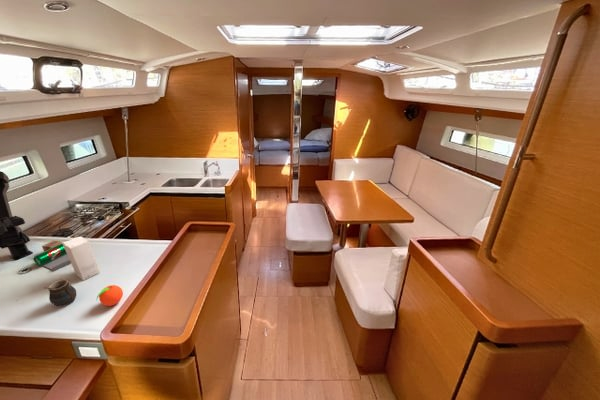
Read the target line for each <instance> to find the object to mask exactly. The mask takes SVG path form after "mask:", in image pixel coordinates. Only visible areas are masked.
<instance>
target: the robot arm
mask: <svg viewBox="0 0 600 400" xmlns="http://www.w3.org/2000/svg"><path fill="white" fill-rule="evenodd" d="M9 183H10V178H9V176H8V175H7V174H6V173H4V172H3V171H0V249H2V250H3V249H8V251H9V253H10V255H8V258H11V260H12V259H13V260H14V261H17V260H20V259H22V258H25V257H27V256H29V255H32V254H34V252H33V251H31V250H29V247H28V246H27V244H28V242H31V239H30V237H29V235H28V234H27V233H26V232H25V231H23V230H22V228H21V227H20V226H22V225H25V224H26V221H25V218H23V217H21V216H19V215H18V216H17V215H14V216H13V214H12V210H11V206H10V203H9V200H8V196H7V192H8V191H9V188H10V184H9Z"/></svg>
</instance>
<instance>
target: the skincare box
mask: <svg viewBox="0 0 600 400" xmlns="http://www.w3.org/2000/svg"><path fill="white" fill-rule="evenodd" d="M62 244H63V246H64V248H65V250H66V253H67V255H68V257H69V259H70V262H71V264H70V265H71V266H72V268H73V271H74V273H75V275H76V276H77V277H78V278H80V279H81V280H82V281H86V280H88V279H89V278H92V277H94V276H97V275H99V274H100V273H101V270H100V267H99V266H98V263H97V261H96V258H95V255H94V253H93V249H92V248H91V246H90V242H89V240H87V239H85V238H84V237H82V236H81V235H80V236H78V237H75V238H72V239H70V240H66V241H64V242H62Z"/></svg>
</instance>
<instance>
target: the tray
mask: <svg viewBox="0 0 600 400" xmlns="http://www.w3.org/2000/svg"><path fill="white" fill-rule="evenodd" d="M69 265H72V264H71V262H70V259H69V257H68V255H67V253H66V254H64V255H62V256H60V257H58V258H56V259H54V260H52V261H50V262H48V263H46V264H44V265H42V266H43V267H45V268H47V269H49V270H51V271H53V272H56V271H57V270H60V269H63V268H64V267H67V266H69Z"/></svg>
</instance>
